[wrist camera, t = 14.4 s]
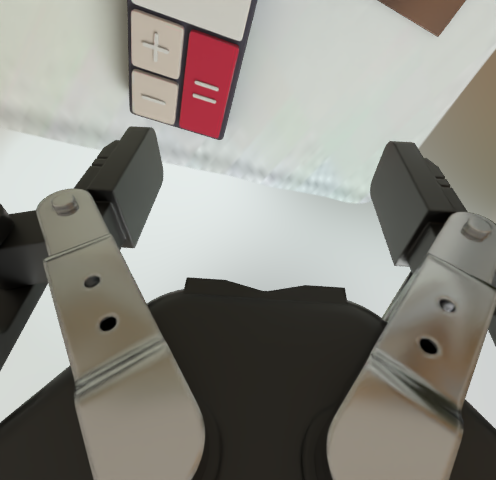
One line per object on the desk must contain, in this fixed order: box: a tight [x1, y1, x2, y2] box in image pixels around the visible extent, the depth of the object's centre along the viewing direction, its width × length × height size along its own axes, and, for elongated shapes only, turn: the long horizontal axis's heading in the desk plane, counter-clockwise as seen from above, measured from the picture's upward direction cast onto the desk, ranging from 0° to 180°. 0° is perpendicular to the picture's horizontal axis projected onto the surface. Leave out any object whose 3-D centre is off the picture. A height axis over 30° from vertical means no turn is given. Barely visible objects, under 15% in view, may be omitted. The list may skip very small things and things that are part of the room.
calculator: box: [127, 0, 257, 140], centre depth 31 cm, size 11×4×15 cm
